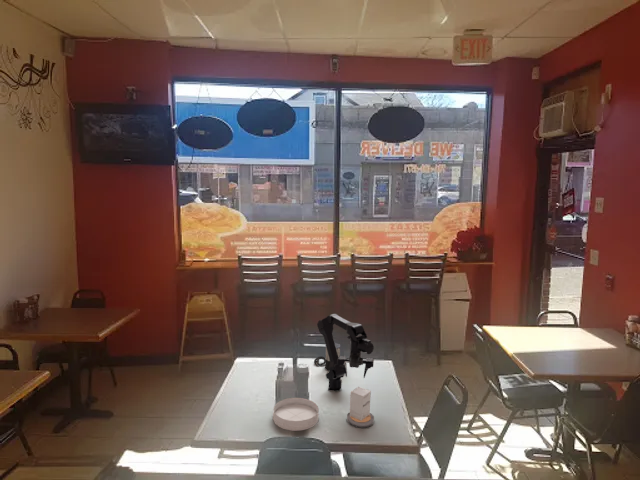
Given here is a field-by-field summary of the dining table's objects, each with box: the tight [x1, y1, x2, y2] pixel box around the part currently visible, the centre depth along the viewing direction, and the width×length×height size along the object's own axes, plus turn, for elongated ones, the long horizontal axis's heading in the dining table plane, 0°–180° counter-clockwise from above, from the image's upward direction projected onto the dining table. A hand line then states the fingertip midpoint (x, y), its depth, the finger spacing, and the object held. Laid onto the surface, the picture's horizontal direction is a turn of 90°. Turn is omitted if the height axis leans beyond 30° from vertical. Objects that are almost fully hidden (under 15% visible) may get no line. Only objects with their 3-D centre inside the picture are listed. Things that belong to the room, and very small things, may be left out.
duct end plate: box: [346, 411, 375, 429], centre depth 223 cm, size 13×13×2 cm
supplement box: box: [349, 386, 372, 421], centre depth 222 cm, size 7×7×13 cm
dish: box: [272, 397, 320, 432], centre depth 223 cm, size 22×22×5 cm
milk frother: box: [313, 342, 341, 372], centre depth 281 cm, size 14×16×15 cm
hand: (355, 377), depth 240 cm, fingers open, 9 cm apart
